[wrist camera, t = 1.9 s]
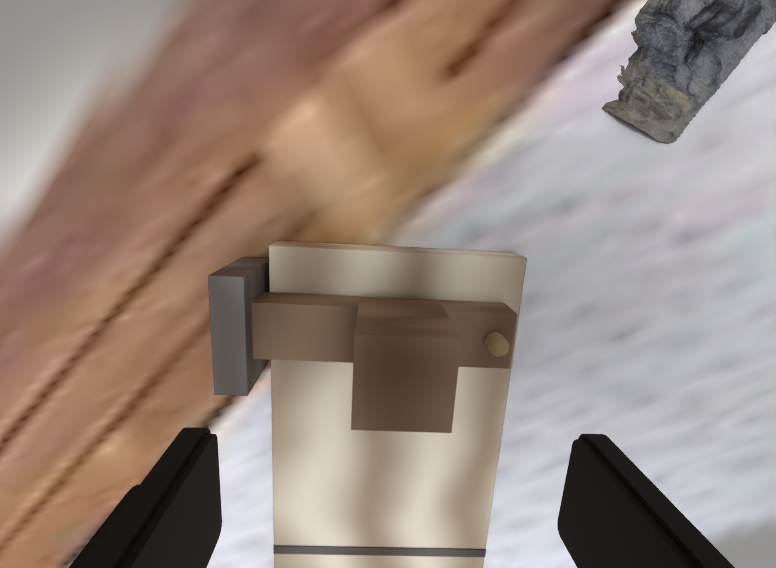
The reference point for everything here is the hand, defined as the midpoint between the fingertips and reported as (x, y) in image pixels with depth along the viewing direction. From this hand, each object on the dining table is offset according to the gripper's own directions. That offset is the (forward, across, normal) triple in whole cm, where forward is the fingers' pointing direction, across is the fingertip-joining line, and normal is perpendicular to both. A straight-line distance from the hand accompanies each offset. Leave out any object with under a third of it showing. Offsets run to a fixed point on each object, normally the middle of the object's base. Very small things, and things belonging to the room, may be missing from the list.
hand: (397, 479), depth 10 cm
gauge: (+14, +1, 0) cm, 14 cm away
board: (+14, -1, +9) cm, 17 cm away
